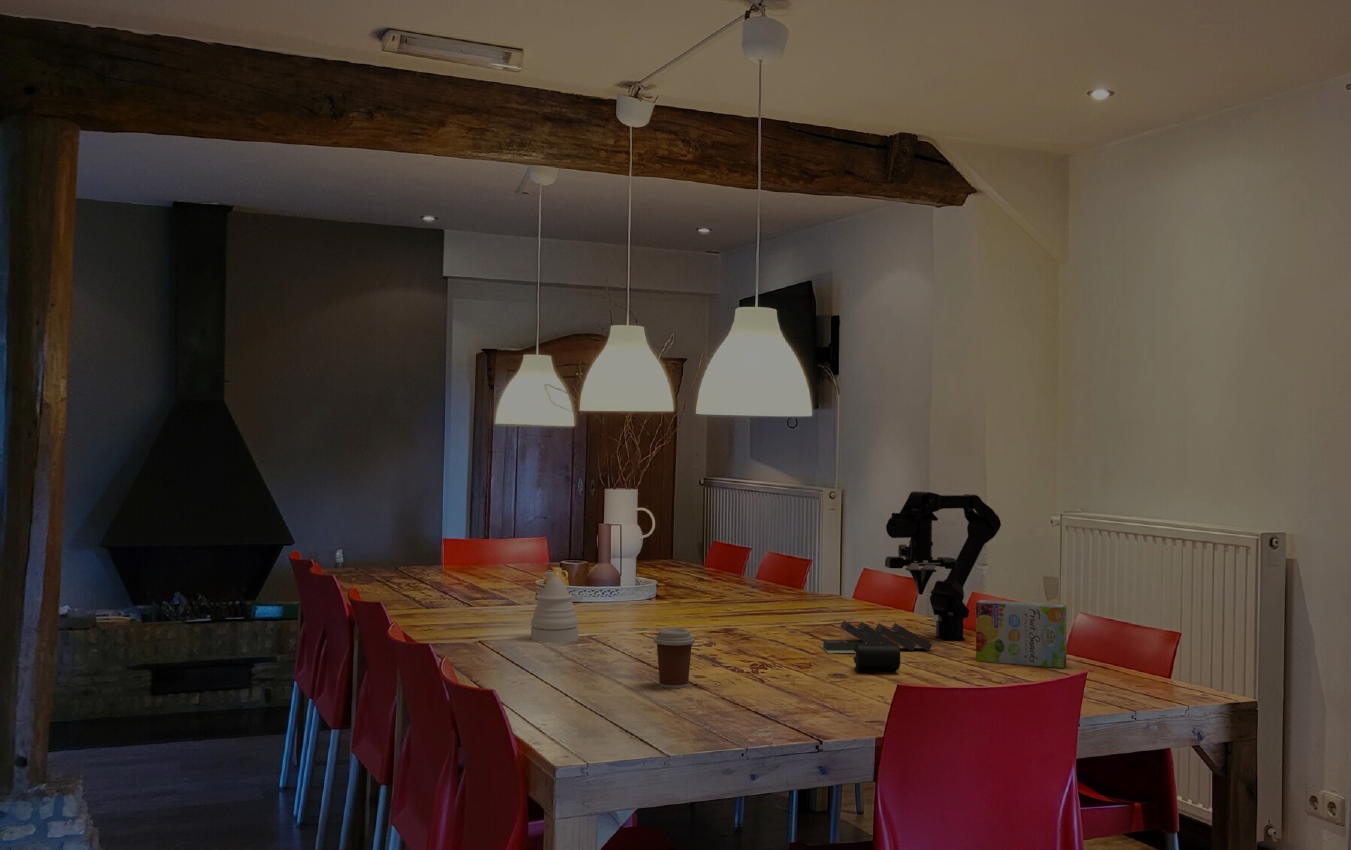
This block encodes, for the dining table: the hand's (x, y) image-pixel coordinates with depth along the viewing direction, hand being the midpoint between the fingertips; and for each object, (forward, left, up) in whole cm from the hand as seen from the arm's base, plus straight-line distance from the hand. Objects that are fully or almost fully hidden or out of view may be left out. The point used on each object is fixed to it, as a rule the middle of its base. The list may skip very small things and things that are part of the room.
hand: (920, 594), depth 310 cm
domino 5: (+19, +12, -12) cm, 25 cm away
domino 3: (+6, +12, -12) cm, 18 cm away
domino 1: (+15, +12, -12) cm, 23 cm away
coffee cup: (+72, +55, -13) cm, 91 cm away
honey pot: (+100, -6, -13) cm, 101 cm away
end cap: (+23, +41, -13) cm, 49 cm away
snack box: (-16, +31, -13) cm, 37 cm away
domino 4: (+1, +12, -12) cm, 17 cm away
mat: (+25, +12, -13) cm, 30 cm away
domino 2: (+11, +12, -12) cm, 20 cm away
